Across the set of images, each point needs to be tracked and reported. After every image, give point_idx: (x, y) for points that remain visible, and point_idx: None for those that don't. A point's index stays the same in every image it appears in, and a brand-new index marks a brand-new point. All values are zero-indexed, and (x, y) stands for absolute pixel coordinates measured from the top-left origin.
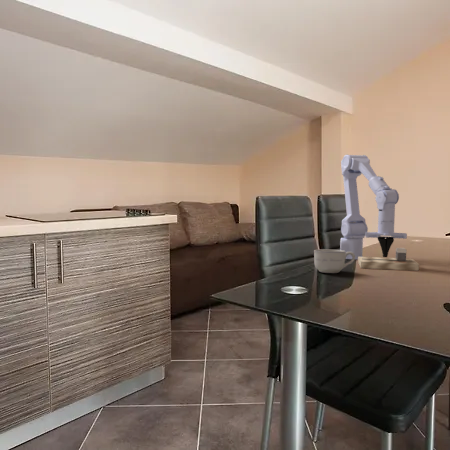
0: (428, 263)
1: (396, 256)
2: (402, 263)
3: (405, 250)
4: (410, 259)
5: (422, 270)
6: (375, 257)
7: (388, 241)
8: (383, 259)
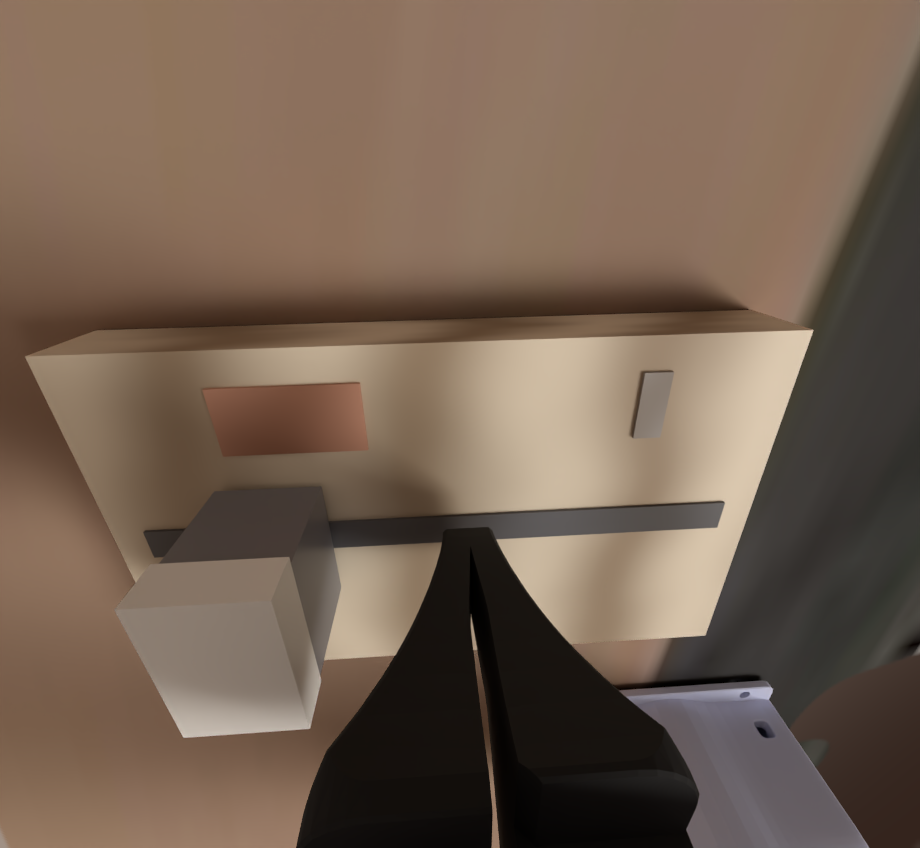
0: (85, 704)
1: (324, 574)
2: (256, 349)
3: (142, 595)
4: None
5: None
6: None
7: (450, 742)
8: None
